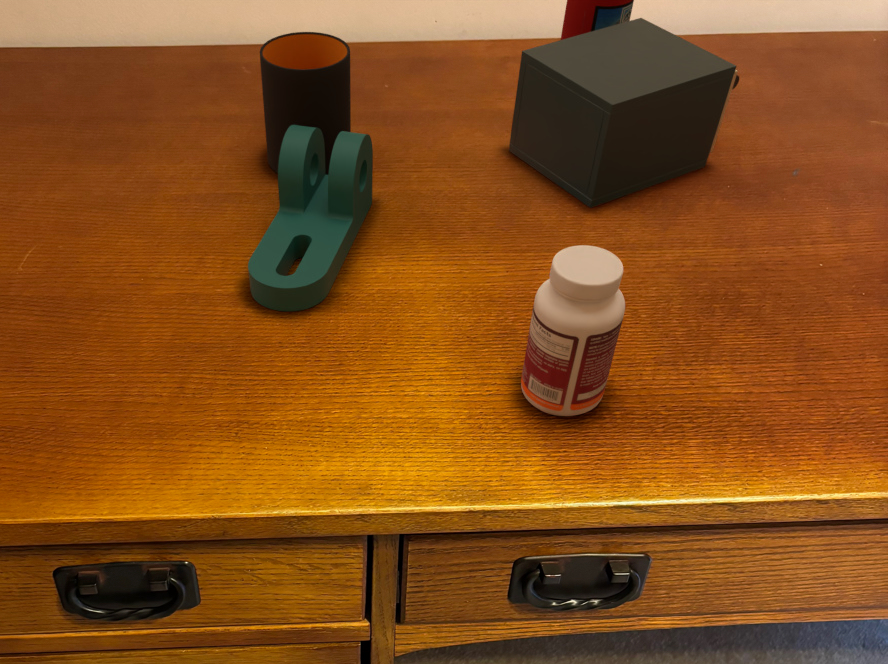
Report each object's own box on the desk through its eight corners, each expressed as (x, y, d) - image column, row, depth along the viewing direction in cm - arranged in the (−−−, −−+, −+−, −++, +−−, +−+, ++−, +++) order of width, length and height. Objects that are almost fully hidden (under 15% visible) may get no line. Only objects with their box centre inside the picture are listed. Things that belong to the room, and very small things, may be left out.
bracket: (303, 193, 87) (299, 111, 81) (372, 203, 86) (373, 120, 80) (239, 304, 76) (229, 218, 70) (316, 316, 75) (313, 230, 69)
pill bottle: (595, 365, 71) (628, 238, 62) (608, 420, 67) (645, 292, 58) (514, 364, 71) (536, 237, 62) (523, 419, 67) (547, 291, 58)
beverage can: (601, 102, 98) (627, -21, 89) (543, 88, 101) (563, -34, 91) (624, 78, 102) (651, -43, 93) (567, 65, 104) (588, -55, 95)
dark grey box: (619, 115, 97) (641, 17, 89) (705, 167, 90) (737, 65, 82) (508, 150, 92) (521, 50, 84) (590, 208, 85) (612, 104, 78)
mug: (322, 117, 97) (319, 11, 89) (362, 171, 89) (363, 61, 81) (247, 131, 95) (237, 24, 87) (282, 187, 88) (274, 76, 80)
